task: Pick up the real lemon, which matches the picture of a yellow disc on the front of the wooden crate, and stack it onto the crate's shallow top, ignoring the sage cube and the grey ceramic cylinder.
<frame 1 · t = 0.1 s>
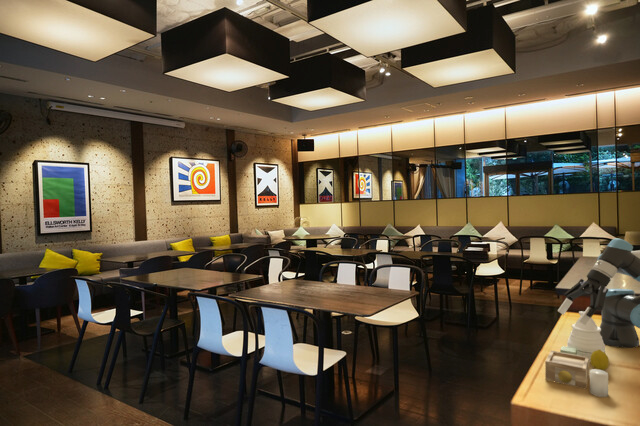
hand: (570, 317, 169), 15 cm above the table, tool tilted 35°, fingers open, 13 cm apart
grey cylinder: (598, 393, 138), on the table
wooden crate: (567, 378, 150), on the table
honey pot: (585, 356, 169), on the table
sage cube: (568, 361, 164), on the table
lemon: (599, 372, 155), on the table
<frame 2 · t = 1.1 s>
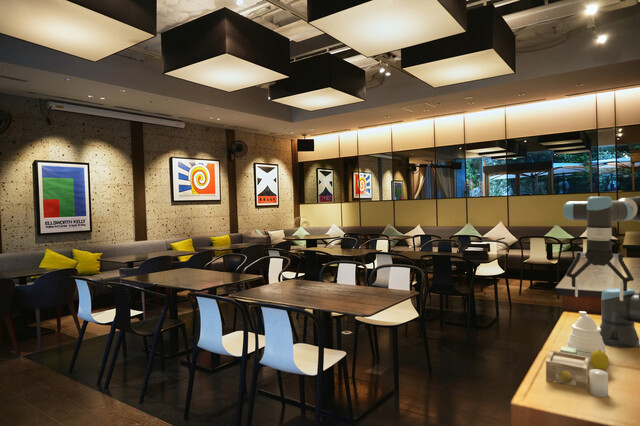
hand: (598, 298, 153), 27 cm above the table, tool pointing down, fingers open, 13 cm apart
nothing on the table moved.
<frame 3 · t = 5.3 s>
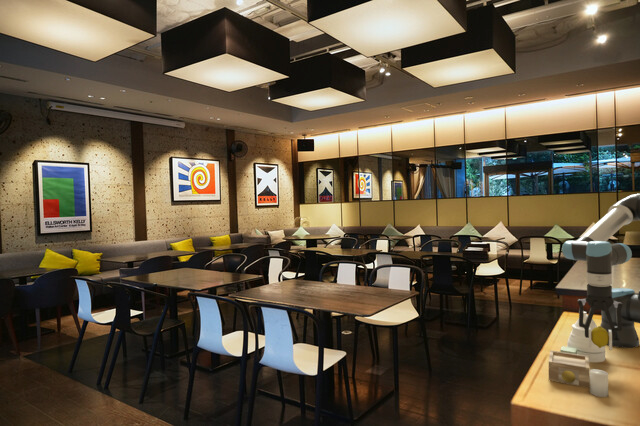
hand: (600, 347, 154), 9 cm above the table, tool pointing down, fingers closed on lemon, 5 cm apart
lemon: (599, 348, 155), point 8 cm above the table, touching gripper
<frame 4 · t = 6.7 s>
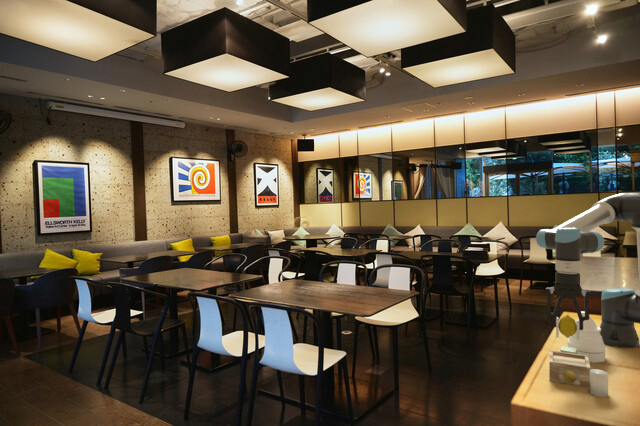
hand: (567, 337, 149), 14 cm above the table, tool pointing down, fingers closed on lemon, 5 cm apart
lemon: (567, 338, 150), point 14 cm above the table, touching gripper
when the fingers open (7 cm above the table, at t = 8.2 s): lemon drops 1 cm, resting on wooden crate.
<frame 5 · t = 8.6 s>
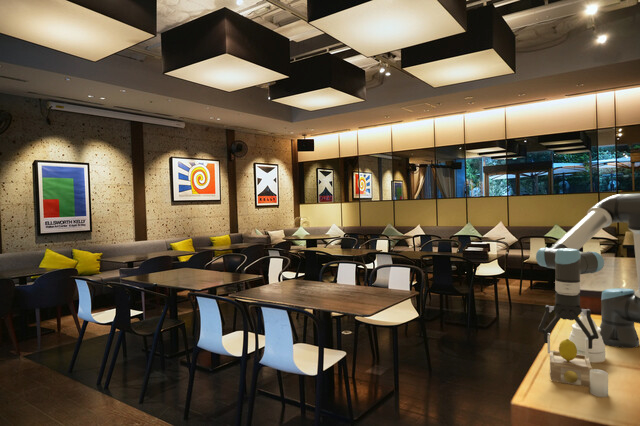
hand: (567, 354, 150), 8 cm above the table, tool pointing down, fingers open, 11 cm apart
wooden crate: (569, 378, 151), on the table, touching lemon
lemon: (568, 361, 150), point 5 cm above the table, touching wooden crate
everything else where it was.
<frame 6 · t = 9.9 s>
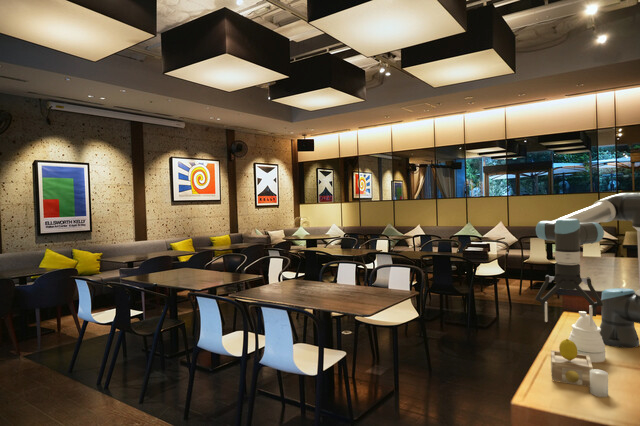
hand: (568, 323, 149), 20 cm above the table, tool pointing down, fingers open, 13 cm apart
nothing on the table moved.
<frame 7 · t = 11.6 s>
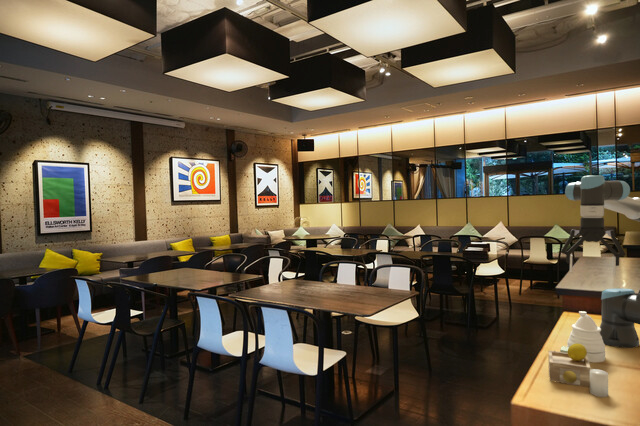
hand: (592, 273, 160), 35 cm above the table, tool pointing down, fingers open, 13 cm apart
lemon: (571, 357, 149), point 8 cm above the table, touching wooden crate
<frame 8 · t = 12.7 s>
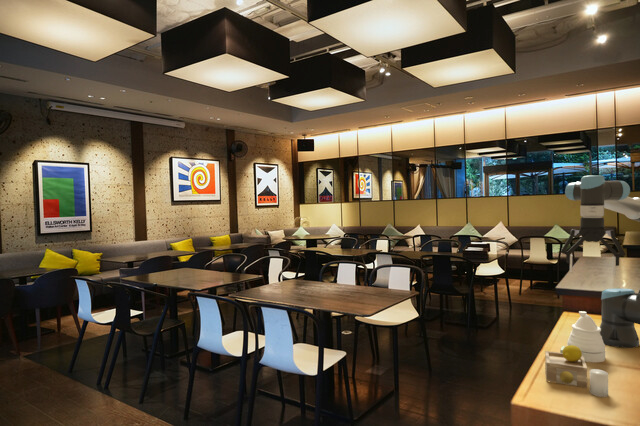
hand: (591, 273, 160), 35 cm above the table, tool pointing down, fingers open, 13 cm apart
wooden crate: (565, 378, 150), on the table
lemon: (566, 355, 148), point 9 cm above the table
everything else where it was.
at the end: lemon inside the target area on the wooden crate (2.0 cm from its centre), point 9.0 cm above the wooden crate's base; the gripper is holding nothing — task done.
